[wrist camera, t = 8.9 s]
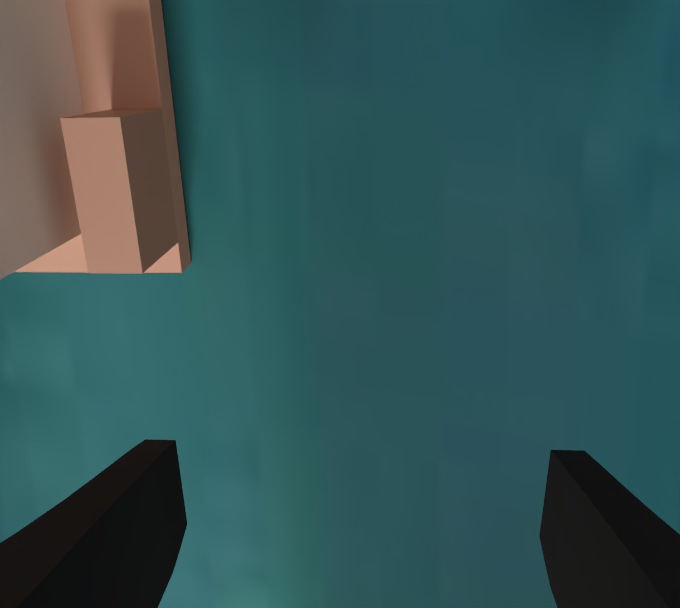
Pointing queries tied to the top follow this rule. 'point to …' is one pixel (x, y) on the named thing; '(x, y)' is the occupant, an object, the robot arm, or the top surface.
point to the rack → (122, 146)
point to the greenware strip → (35, 130)
